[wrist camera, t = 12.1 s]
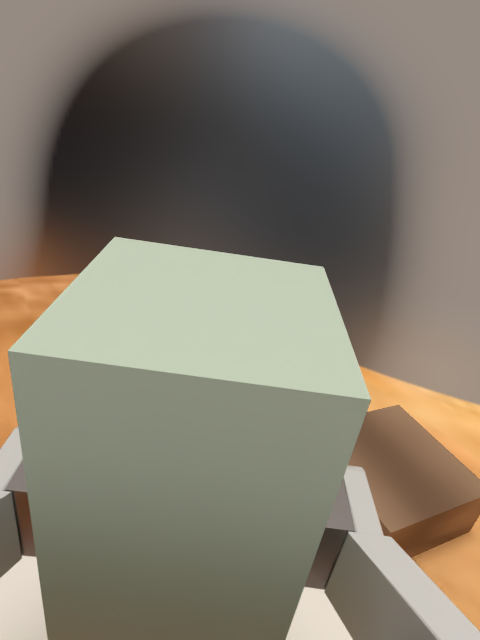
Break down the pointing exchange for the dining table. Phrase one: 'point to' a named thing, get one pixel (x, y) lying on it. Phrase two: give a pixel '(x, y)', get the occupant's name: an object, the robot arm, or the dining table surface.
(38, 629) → the plate
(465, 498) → the walnut block
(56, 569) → the sage block
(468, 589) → the dining table surface
